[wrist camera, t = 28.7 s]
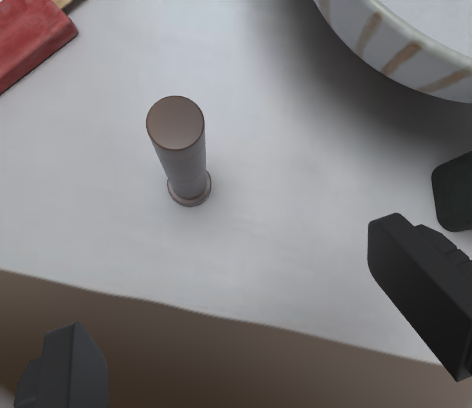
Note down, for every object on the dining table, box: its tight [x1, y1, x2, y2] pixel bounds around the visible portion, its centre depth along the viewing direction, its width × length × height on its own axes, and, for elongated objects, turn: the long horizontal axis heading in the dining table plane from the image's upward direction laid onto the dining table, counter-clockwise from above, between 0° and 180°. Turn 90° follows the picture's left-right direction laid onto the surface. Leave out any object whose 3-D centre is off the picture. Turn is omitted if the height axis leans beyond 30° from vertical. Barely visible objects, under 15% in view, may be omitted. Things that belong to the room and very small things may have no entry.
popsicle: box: [0, 0, 77, 94], centre depth 28 cm, size 4×2×15 cm
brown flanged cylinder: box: [146, 96, 211, 207], centre depth 22 cm, size 3×3×12 cm
